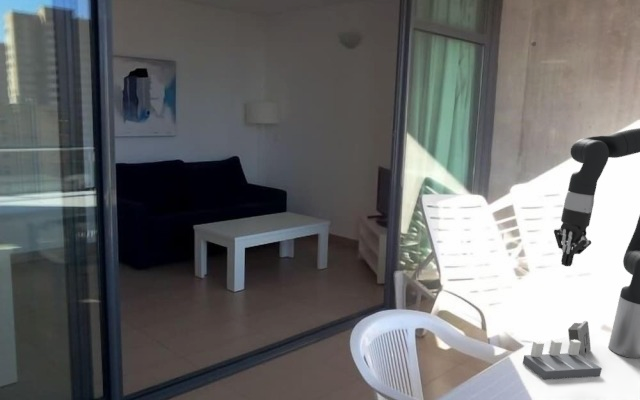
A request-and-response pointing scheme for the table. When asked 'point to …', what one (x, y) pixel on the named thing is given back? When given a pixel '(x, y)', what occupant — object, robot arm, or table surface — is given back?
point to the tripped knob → (555, 347)
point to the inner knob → (574, 347)
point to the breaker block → (561, 366)
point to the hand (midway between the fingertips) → (566, 265)
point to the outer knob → (537, 349)
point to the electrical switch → (581, 336)
